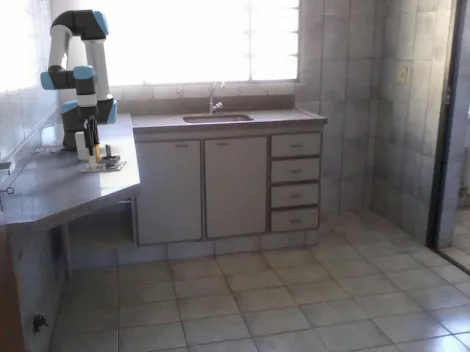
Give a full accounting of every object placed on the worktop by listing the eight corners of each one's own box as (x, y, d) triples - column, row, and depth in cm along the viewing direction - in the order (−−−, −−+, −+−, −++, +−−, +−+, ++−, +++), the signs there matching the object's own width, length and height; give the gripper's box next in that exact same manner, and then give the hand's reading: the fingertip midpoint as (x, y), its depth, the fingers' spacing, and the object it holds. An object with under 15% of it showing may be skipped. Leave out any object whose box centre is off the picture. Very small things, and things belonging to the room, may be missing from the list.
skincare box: (94, 157, 223) (90, 130, 220) (92, 159, 219) (88, 132, 216) (80, 158, 223) (76, 131, 219) (78, 160, 218) (74, 133, 215)
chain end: (79, 165, 200) (77, 148, 198) (84, 160, 207) (82, 144, 205) (116, 163, 200) (114, 146, 198) (120, 159, 207) (118, 142, 205)
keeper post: (89, 164, 211) (86, 142, 208) (126, 162, 211) (124, 141, 208) (80, 172, 198) (77, 149, 196) (120, 170, 198) (117, 147, 195)
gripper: (84, 102, 206) (91, 157, 212) (71, 108, 189) (79, 167, 195) (102, 102, 205) (108, 156, 212) (90, 107, 189) (98, 166, 195)
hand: (94, 161), depth 204 cm, fingers closed on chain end, 4 cm apart
